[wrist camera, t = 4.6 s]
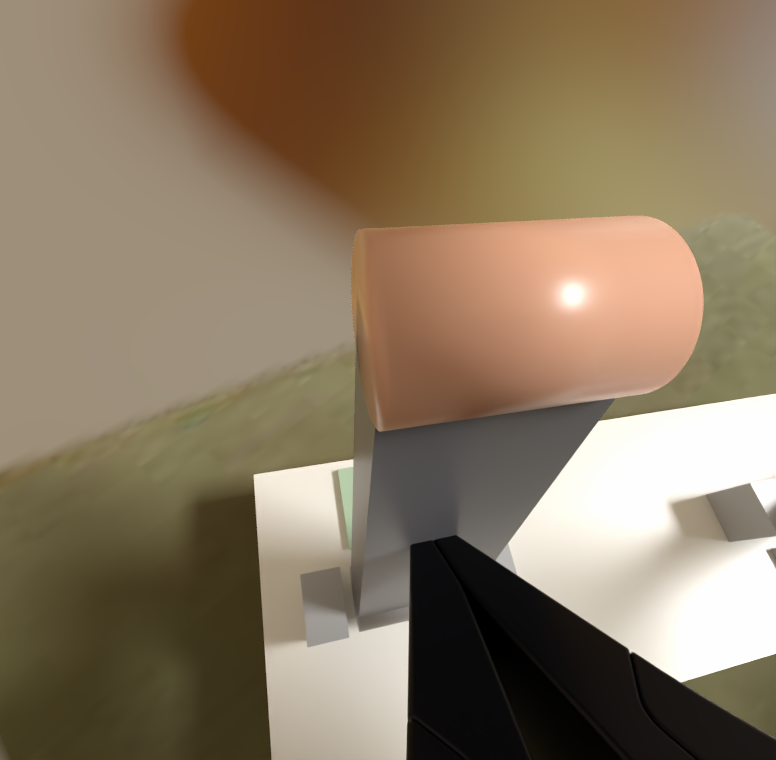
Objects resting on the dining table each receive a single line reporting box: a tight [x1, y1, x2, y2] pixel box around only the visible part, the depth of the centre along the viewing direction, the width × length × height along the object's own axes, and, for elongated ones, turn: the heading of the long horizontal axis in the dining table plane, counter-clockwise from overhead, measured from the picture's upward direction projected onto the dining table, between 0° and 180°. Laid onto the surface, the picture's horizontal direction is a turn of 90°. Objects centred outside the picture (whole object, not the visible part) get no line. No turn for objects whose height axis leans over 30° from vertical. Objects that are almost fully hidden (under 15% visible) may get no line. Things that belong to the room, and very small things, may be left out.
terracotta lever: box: [350, 216, 703, 632], centre depth 8 cm, size 2×3×11 cm, turn 101°
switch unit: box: [254, 394, 776, 760], centre depth 14 cm, size 8×22×4 cm, turn 101°
